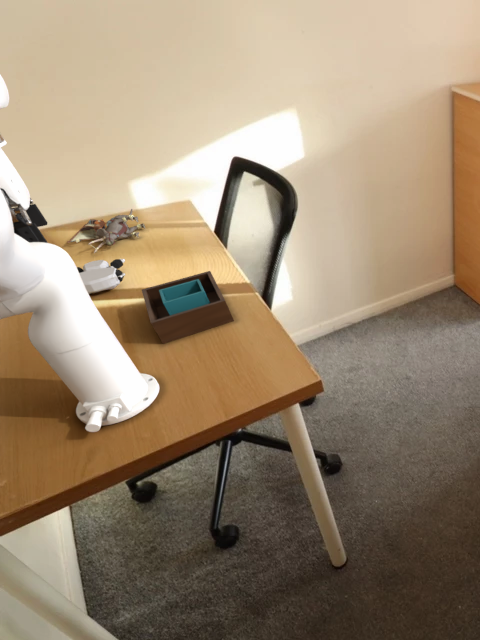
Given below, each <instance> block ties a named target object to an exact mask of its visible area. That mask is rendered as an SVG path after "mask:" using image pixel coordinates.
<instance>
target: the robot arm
mask: <svg viewBox="0 0 480 640" xmlns="http://www.w3.org/2000/svg"><path fill="white" fill-rule="evenodd" d="M9 104H10V93H9V89H8V86H7V84H6V81H5V80H4V77H3V76H2V75H1V74H0V110H1V109H5V108H7V107H8V106H9ZM7 144H8V142H7V140H6V139H5V138H4V136H3V134H2V133H1V132H0V320H3V319H7V318H10V317H14V316H20V315H23V314H28V313H32V315H31V317H30V320H29V323H28V327H27V336H28V339H29V341H30V343H31V344H32V346H33V347H34V349H35V350H36V351H37V352H38V354H40V355H41V357H42V358H43V359H44V360H45V362H46V363H47V364H48V365H49V366H50V367H51V369H52V370H53V371H54V372H55V374H56V375H57V376H58V377H59V378H60V380H61V381H62V382H63V383H64V385H65V386H66V387H67V388H68V389H69V391H70V392H71V393H72V395H74V397H75V398H76V399H77V400H78V403H77V404H76V408H75V414H76V416H77V418H78V419H79V420H80V422H82V423H83V424H85V427H84V429H85V430H86V432H89V433H97V432H99V431H100V430H101V427H102V426H103V427H104V426H110V425H114V424H118V423H121V422H123V421H126V420H128V419H131V418H133V417H135V416H137V415H138V414H140V413H141V412H143V411H145V409H147V408H148V407H150V406H151V404H153V402H154V401H155V400H156V399H157V397H158V395H159V393H160V384H159V382H158V380H157V379H156V378H155V377H154V376H152V375H151V374H147V373H142V372H140V371H139V369H138V368H137V367H136V365H135V364H134V362H133V361H132V359H131V358H130V356H129V355H128V353H127V352H126V350H125V348H124V347H123V345H122V343H120V341H119V340H118V338H117V337H116V335H115V334H114V331H112V329H111V328H110V326H109V325H108V323H107V322H106V320H105V319H104V317H103V316H102V315H101V312H100V311H99V310H98V308H97V307H96V305H95V303H94V301H93V299H92V298H91V296H90V294H88V292H87V290H86V288H85V286H84V283H83V281H82V279H81V276H80V274H79V272H78V269H77V267H78V266H77V265H76V263H75V261H74V260H73V258H72V257H71V256H70V254H69V253H68V252H67V251H66V250H65V249H63V248H62V247H60V246H59V245H56V244H54V243H50V242H48V241H47V239H46V238H45V236H44V234H43V233H42V232H41V230H40V229H39V227H44V226H47V225H48V221H47V219H46V218H45V216H44V214H43V213H42V212H41V210H40V209H39V207H38V206H37V204H36V203H34V201H33V198H32V197H31V193H30V191H29V188H28V187H27V185H26V182H24V180H23V178H22V177H21V174H20V173H19V172H18V171H17V169H16V167H15V166H14V164H13V163H12V161H11V160H10V159H9V157H8V156H7V154H6V153H5V151H4V150H3V147H5V146H6V145H7Z"/></svg>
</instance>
